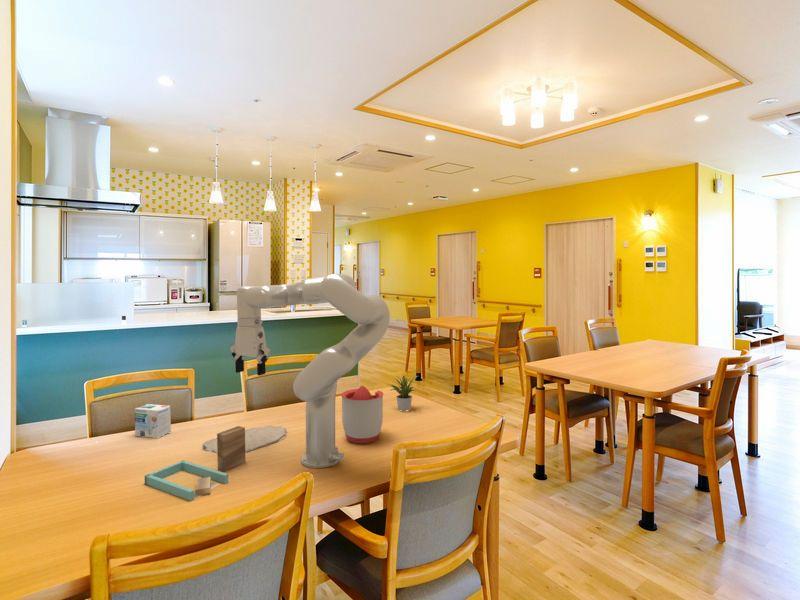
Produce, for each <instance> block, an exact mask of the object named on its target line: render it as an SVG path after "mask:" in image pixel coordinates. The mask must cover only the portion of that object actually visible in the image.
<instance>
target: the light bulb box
mask: <svg viewBox="0 0 800 600" xmlns="http://www.w3.org/2000/svg"><path fill="white" fill-rule="evenodd" d="M171 415H172V414H171V405H164V404H163V405H162V404H153V403H152V404H151V403H147V404H144V405H141V406H139V407H135V408H134V431H135V433H134V434H135V435H134V436H135V437H139V436H144V437H143V438H147V437H153V438H152V439H155V438H158V437H161V436H163V435H165V434H167V433H169V432H171V433H172V424H171V423H172V422H171V419H172V418H171ZM167 435H168V434H167ZM165 436H166V435H165ZM163 437H164V436H163ZM161 438H162V437H161Z"/></svg>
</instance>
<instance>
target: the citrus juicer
mask: <svg viewBox="0 0 800 600" xmlns="http://www.w3.org/2000/svg"><path fill="white" fill-rule="evenodd" d="M340 396H341V420H342V428H343V431H344V435H345V437H346V440H347V441H348V442H351V443H355V444H364V445H365V444H366V445H367V444H370V443H373V442H375V441H377V440H378V439H379V436H380V434H381V430H382V426H383V420H384V419H383V418H384V417H383V415H384V413H383V412H384V411H383V410H384V409H383V408H384V406H383V405H384V403H383V401H384V399H383V398H384V392H383V391H381V390H377V391H375V394H371V392H370V391H369V390H368V388H366V386H364V385H360V387H358V388H355V389H349V390H346V391H343V392H342V393H341V394H340Z"/></svg>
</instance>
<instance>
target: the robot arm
mask: <svg viewBox="0 0 800 600" xmlns="http://www.w3.org/2000/svg"><path fill="white" fill-rule="evenodd" d="M325 303H329V305H331V306H333V308H335V309H336V310H338V311H339V312H340V313H341V314H343V315H344V316H345V317H347V319H349V320H350V321H352V322H354V323H355V324H358V325H356V327H355V328H353V330H351V331H350V332H349V334H347V335H346V336H345V338H342V340H341V341H340V342H338V343H336V344H335V345H332V346H330V347H327V348H325V349H323V350H322V351H321V352H320V353H319V354H318V355H317V356H316V357H314V358H313V360H311V361H310V362H309V363H308V364H307V365H306V366H305V367H304V368H303V369H302V370H301V371H300V372H299V373H298V374H297V375H296V377H295V378H294V380H293V384H292V385H293V387H292V388H293V393H294V394H295V396H296V397H297V399H299V400H301V401H303V402H305V453H304V454H303V455H302V456H301V457H300V458H301V459H300V461H301V464H302V465H303V466H305V467H308V468H313V469H322V468H323V469H324V468H328V467H333V466H335V465H336V464H338V463H342V462H343V460H344V457H345V453H344V452H339V446H336V397H337V388H338V381H339V380H340V378H342V377H343V376H344V375H346V374H348V373H349V372H351V370H353V369H354V368H355V366H356V365H357V364H358V363H359V362H360V361H361V360H362V359H363V358H364V357H365V356H366V355H368V354H369V352H370V351H372V349H373V348H375V346H377V345H378V343H380V341H381V340H382V339H383V337H384V336H385V334H386V332H387V331H388V328H389V324H390V319H391V318H390V317H391V316H390V309H389V307H388V304H387V302H386V300H384V299H383V298H382V297H381V296H377V295H370V294H369V295H365V294H364V293H362V292H360V290H358V289H357V284H356V281H355V280H354V278H353V277H352V276H351V275H349V274H346V273H332V274H328V275H325V276H318V277H311V278H310V277H309V278H308V277H307V278H304V279H303V281H299V282H294V283H286V284H271V285H269V284H268V285H260V286H257V285H242V286H239V287H237V289H236V307H237V308H236V311H237V312H236V313H237V317H236V318H237V321H236V322H237V326H236V330H235V338H234V339H235V340H234V342H235V343H234V344H233V345H232V346H230V347H229V349H230V352H231V356H232V357H233V361H234V362H235V364H234V365H235V373H242V372H244V371H245V360H244V359H243V358H244V357H246V358H247V357H248V358H255V359H256V361H257V362H258V363H257V364H256V369H257V370H256V371H257V374H256V375H257V376H262V375H266V373H267V372H266V371H267V370H266V363H267V361H268V360H269V358H270V355H271V353H272V350H271V349H270V348H269V347H267V343H266V335H265V329H264V327H263V326H262V324H263V319H262V309H265V310H266V309H273V308H281V307H289V306H297V305H307V306H309V305H318V304H319V305H320V304H325Z"/></svg>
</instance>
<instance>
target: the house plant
mask: <svg viewBox="0 0 800 600" xmlns="http://www.w3.org/2000/svg"><path fill="white" fill-rule="evenodd" d="M417 377H419V375H416V376H413V377H412V376H410V377H409V378H407V377H406V375H404V374H402V379H401V378H400V377H398V376H397V378H395V377H391V378H392V379H393V381H394V380H395V382H396V383H397V385H398V386H396V385H394V384H392V383H387V385H388V386H391V387H392V388H391V389H390V390H389V391H390V392H391V391H396V392H397V393H398V394H399V395H396V402H397V409H399V410H402V411H406V410H410V411H411V406H412V400H413V396H412V395H410V394H411V393H412V392H413V391H415V392H416V390H415V389H414V387H413V386H412V384H413V383H415V382H416V380H415V379H417ZM399 410H398V411H399Z"/></svg>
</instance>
